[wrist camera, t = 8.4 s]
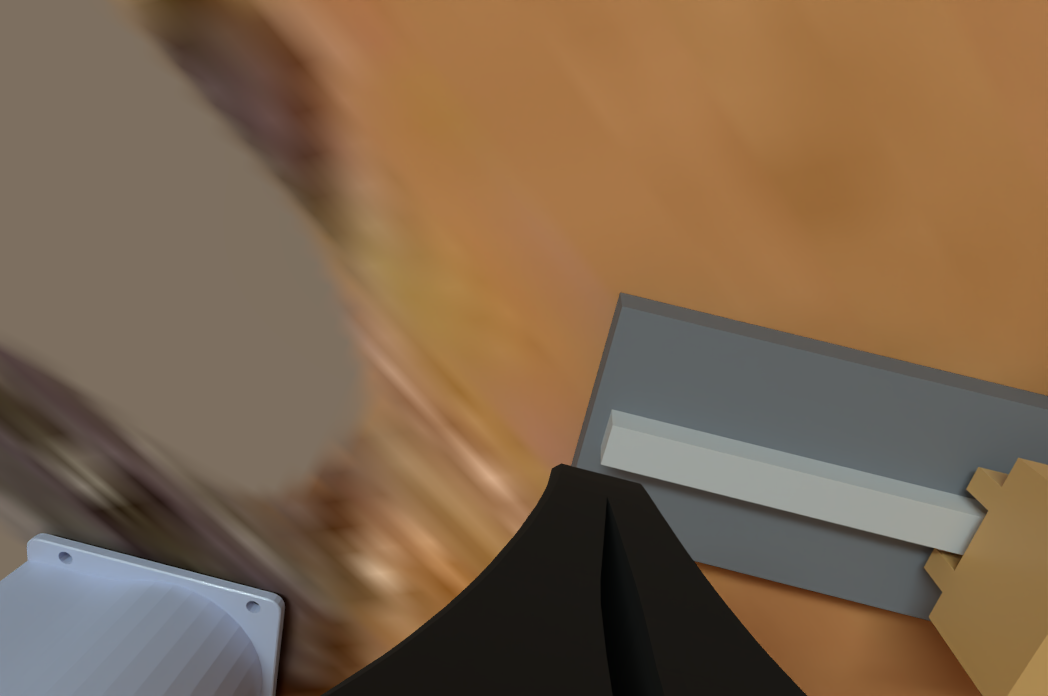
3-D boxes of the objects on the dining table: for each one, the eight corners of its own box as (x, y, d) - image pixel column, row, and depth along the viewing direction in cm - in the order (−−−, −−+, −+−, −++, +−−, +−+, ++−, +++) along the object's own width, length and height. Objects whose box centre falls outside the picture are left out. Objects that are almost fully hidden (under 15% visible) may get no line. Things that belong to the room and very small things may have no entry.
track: (561, 499, 20) (551, 610, 15) (620, 292, 18) (628, 349, 13) (1058, 624, 20) (1203, 779, 15) (1186, 429, 17) (1407, 541, 13)
